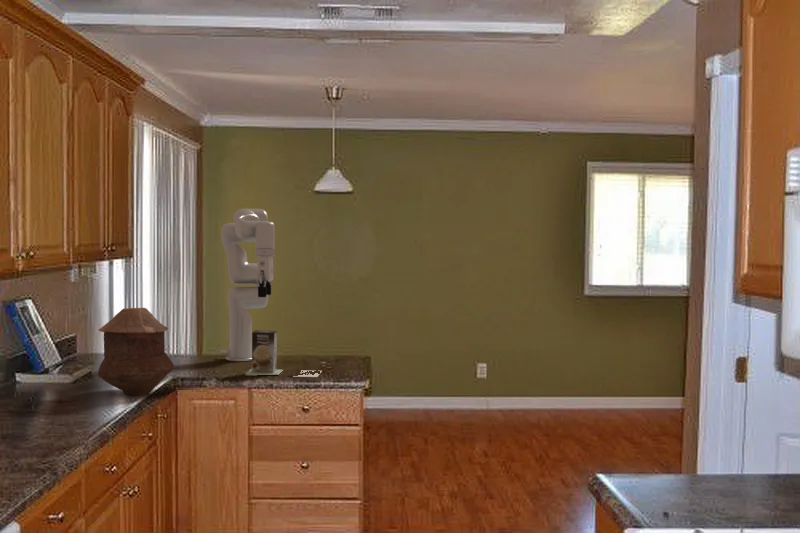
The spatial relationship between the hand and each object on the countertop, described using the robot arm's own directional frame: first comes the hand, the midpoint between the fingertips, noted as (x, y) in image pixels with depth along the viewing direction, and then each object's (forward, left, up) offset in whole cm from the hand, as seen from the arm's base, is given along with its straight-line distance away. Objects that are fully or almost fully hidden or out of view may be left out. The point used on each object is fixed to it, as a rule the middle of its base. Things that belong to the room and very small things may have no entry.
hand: (264, 295), depth 347 cm
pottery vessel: (-37, -43, -31) cm, 65 cm away
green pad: (0, 0, -31) cm, 31 cm away
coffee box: (0, 0, -30) cm, 30 cm away
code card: (+16, +1, -31) cm, 35 cm away
